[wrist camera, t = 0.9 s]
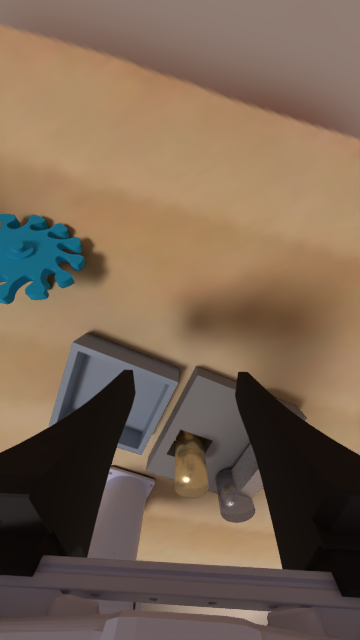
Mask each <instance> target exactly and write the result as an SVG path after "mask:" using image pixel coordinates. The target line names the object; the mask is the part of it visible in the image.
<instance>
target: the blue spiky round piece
mask: <svg viewBox="0 0 360 640" xmlns="http://www.w3.org/2000/svg"><path fill="white" fill-rule="evenodd" d="M0 222H1V228H0V282H5V281H7V282H6V283H5V284H2V285H0V303H3V304H10V303H11V302H13V301H14V299H15V294H16V292H17V290H18V289H19V288H20V287H21V286H23V285H24V284H26V283H27V282H29V281H34V282H33V283H31V284H30V285H29V286H27V287H26V289H25V293H26V294H27V295H28V296H29V298H30V299H31V300H42V299H47V298H48V296H49V294H48V292H47V290H49V289H50V288H51V286H50V284H49V283H48V281H47V280H46V277H47V276H48V275H49V274H55V280H56V282H57V283H58V285H59V286H60V287H61V288H66V287H68V286H70V285H72V284H74V280H73V277H72V275H71V274H70V273H69V272H66V271H64V270H62V269H61V268H60V267H59V266H58V265H59V264H60V263H61V262H68V263H70V264H71V267H72V268H73V269H74V270H76V271H80V270H82V268H83V267H84V266H85V264H86V263H85V260H84V257H83V256H81V255H78V254H68V253H65V252H63V251H61V250H62V249H68V250H70V251H72V252H74V253H82V246H81V242H80V239H79V238H76V237H73V238H70V239H68V238H69V237H70V235H69V233H68V230H67V228H66V227H65V226H64V225H63V224H62V223H58V224H55V225H54V226H53V227H51V228H49V229H47V228H48V225H47V223H46V221H45V219H44V218H42V217H40V216H37V215H31V216H30V217H29V220H28V222H27V223H26V224H25V225H24V226H22V227H20V223H19V221H18V220H17V218H16V216H15V215H11V214H0ZM19 227H20V228H19ZM54 238H60V239H54Z"/></svg>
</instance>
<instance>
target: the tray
mask: <svg viewBox="0 0 360 640" xmlns="http://www.w3.org/2000/svg"><path fill="white" fill-rule="evenodd" d="M123 370H133V375H134V383H135V390H136V394H135V398H134V402H133V406H132V409H131V412H130V414H129V417H128V419H127V422H126V424H125V427H124V429H123V432H122V435H121V437H120V440H119V442H118V445H117V448H120V449H124V450H127V451H130V452H133V453H136V454H139V455H142V453H143V451H144V449H145V447H146V445H147V443H148V441H149V439H150V437H151V435H152V434H153V432H154V430H155V428H156V426H157V424H158V422H159V420H160V418H161V416H162V414H163V412H164V410H165V408H166V406H167V404H168V402H169V400H170V398H171V396H172V394H173V392H174V390H175V388H176V386H177V384H178V382H179V368H177V367H174V366H172V365H169V364H167V363H164V362H161V361H159V360H156V359H154V358H151V357H149V356H146V355H143V354H141V353H138V352H136V351H133V350H131V349H128V348H126V347H123V346H120V345H118V344H115V343H113V342H110V341H108V340H105V339H102V338H100V337H97V336H95V335H92V334H90V333H86V334H84V335H83V336H81V337H80V338H78V339H77V340H75V341H74V342H72V346H71V349H70V353H69V356H68V360H67V363H66V367H65V371H64V374H63V378H62V381H61V385H60V388H59V392H58V395H57V399H56V402H55V406H54V409H53V413H52V416H51V420H50V423H49V426H52V425H54V424H55V423H57V422H58V421H60V420H62V419H63V418H65V417H66V416H68V415H69V414H71V413H72V412H74V411H75V410H77V409H78V408H79V407H81V406H82V405H84V404H85V403H86V402H87V401H89V400H90V399H91V398H92V397H94V396H95V395H96V394H97V393H99V392H100V391H101V390H102V389H103V388H104V387H105V386H107V385H108V384H109V383H110V382H111V381H112V380H113V379H114V378H115V377H117V376H118V375H119V374H120V373H121V372H122V371H123Z"/></svg>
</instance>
